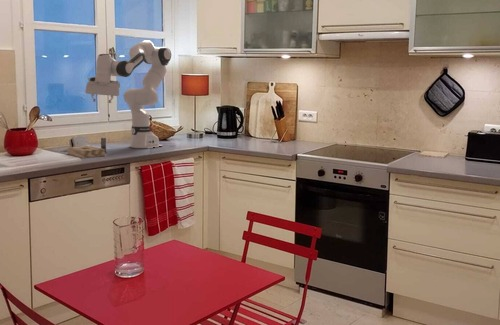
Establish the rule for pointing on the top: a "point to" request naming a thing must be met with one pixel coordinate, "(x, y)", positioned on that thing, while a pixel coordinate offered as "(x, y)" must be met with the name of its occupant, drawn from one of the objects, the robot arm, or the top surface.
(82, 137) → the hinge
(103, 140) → the peg
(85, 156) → the hole block
